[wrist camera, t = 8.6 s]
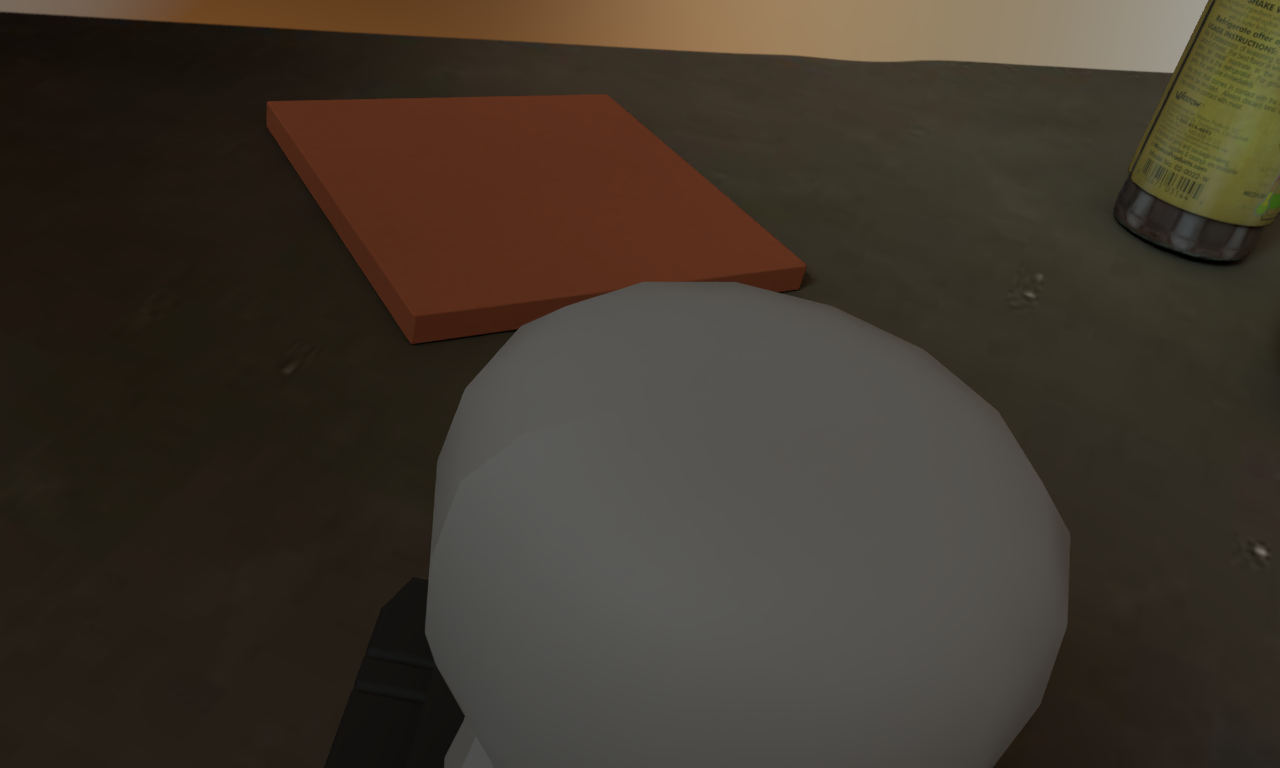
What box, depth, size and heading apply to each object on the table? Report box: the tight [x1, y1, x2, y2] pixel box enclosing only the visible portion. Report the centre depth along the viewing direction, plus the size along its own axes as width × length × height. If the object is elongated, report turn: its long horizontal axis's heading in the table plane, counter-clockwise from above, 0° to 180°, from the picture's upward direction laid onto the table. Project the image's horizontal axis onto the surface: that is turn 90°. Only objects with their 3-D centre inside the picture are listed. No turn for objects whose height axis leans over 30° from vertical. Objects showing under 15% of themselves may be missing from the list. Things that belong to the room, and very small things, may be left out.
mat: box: [267, 94, 807, 344], centre depth 38 cm, size 14×14×1 cm
